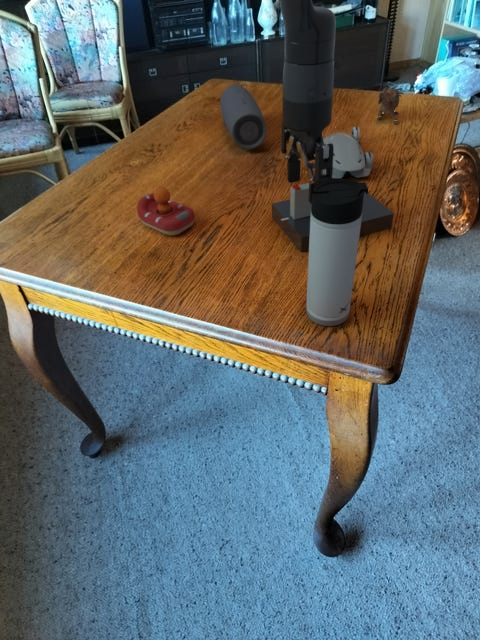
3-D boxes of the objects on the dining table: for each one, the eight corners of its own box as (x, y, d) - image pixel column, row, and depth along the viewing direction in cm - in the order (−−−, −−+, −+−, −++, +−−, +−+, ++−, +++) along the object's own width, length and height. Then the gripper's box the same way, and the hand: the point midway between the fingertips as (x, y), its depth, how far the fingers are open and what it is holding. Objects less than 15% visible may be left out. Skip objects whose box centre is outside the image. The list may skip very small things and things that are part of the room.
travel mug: (354, 326, 66) (373, 198, 53) (307, 327, 67) (314, 200, 53) (348, 298, 71) (363, 173, 57) (304, 299, 71) (309, 176, 58)
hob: (354, 197, 94) (356, 182, 91) (391, 228, 84) (394, 212, 82) (267, 218, 90) (267, 203, 87) (296, 253, 80) (296, 237, 78)
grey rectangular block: (312, 209, 85) (314, 180, 81) (317, 214, 84) (318, 184, 80) (289, 215, 84) (290, 185, 80) (294, 220, 83) (294, 190, 79)
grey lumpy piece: (358, 138, 115) (360, 117, 112) (376, 183, 97) (379, 160, 94) (312, 140, 116) (313, 119, 112) (322, 186, 98) (323, 163, 94)
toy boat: (160, 207, 95) (153, 172, 90) (202, 224, 89) (197, 187, 84) (132, 224, 91) (123, 188, 86) (174, 242, 85) (167, 205, 80)
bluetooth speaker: (270, 152, 112) (269, 108, 105) (231, 157, 111) (228, 113, 105) (253, 119, 129) (251, 80, 122) (220, 123, 128) (216, 84, 121)
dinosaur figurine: (398, 128, 118) (404, 89, 112) (374, 127, 120) (379, 88, 113) (401, 109, 127) (407, 72, 121) (378, 108, 129) (383, 72, 123)
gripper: (354, 101, 66) (343, 205, 77) (309, 75, 76) (305, 170, 87) (305, 111, 64) (302, 215, 75) (266, 83, 74) (268, 179, 85)
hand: (304, 191), depth 81 cm, fingers open, 8 cm apart
